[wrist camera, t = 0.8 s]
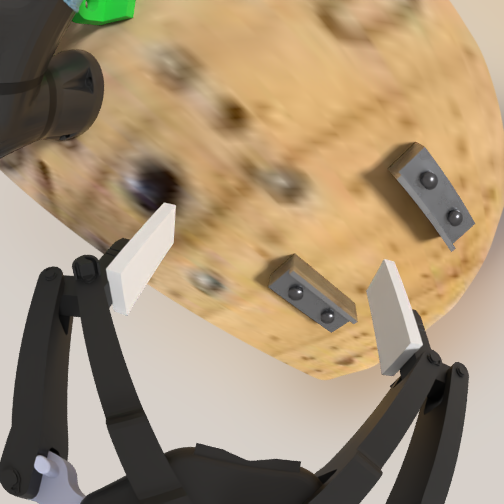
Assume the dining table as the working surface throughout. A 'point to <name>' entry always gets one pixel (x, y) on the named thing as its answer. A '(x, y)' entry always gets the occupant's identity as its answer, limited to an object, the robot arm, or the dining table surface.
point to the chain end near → (432, 193)
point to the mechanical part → (104, 11)
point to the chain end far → (312, 294)
